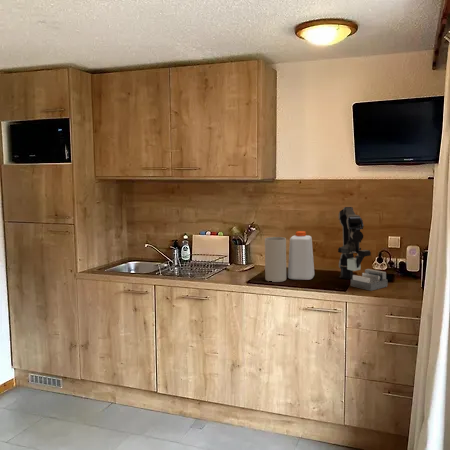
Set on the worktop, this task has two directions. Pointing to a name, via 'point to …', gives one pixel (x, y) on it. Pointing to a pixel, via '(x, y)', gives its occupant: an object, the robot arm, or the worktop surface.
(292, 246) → the plastic bottle
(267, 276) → the cylinder vase
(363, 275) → the base
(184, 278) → the worktop surface
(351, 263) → the block
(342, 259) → the robot arm
